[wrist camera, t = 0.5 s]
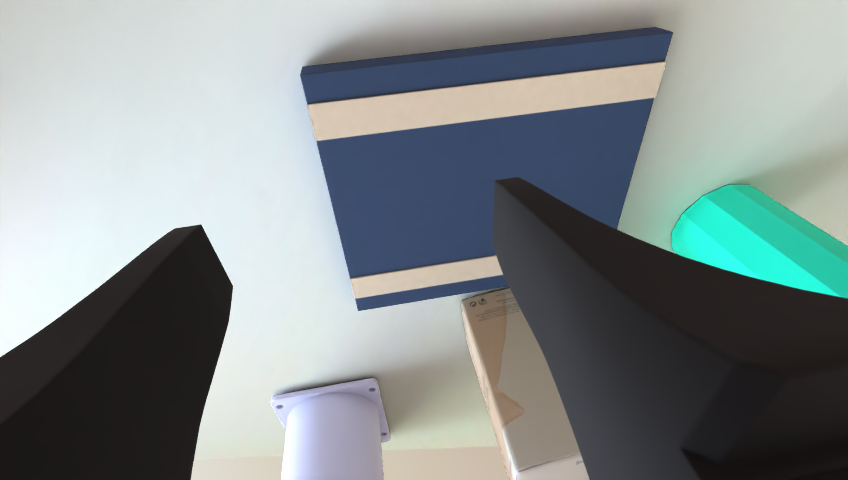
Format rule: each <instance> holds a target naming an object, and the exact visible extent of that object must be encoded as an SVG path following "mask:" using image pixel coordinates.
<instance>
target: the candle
mask: <svg viewBox="0 0 848 480" xmlns="http://www.w3.org/2000/svg"><path fill="white" fill-rule="evenodd" d="M671 237H672V249H673V250H674V251H675V252H676V253H677V254H678V255H681V256H683V257H686V258H689V259H693V260H696V261H699V262H702V263H705V264H708V265H711V266H715V267H718V268H721V269H724V270H728V271H731V272H735V273H739V274H742V275H746V276H749V277H753V278H757V279H761V280H765V281H769V282H773V283H778V284H782V285H786V286H790V287H794V288H798V289H803V290H808V291H813V292H818V293H823V294H828V295H833V296H838V297H843V298H848V246H847V245H845V244H843V243H842V242H840V241H839V240H837V239H835V238H834V237H832V236H831V235H829V234H827V233H826V232H824V231H823V230H821V229H819V228H818V227H816V226H815V225H813V224H811V223H810V222H808V221H807V220H805V219H803V218H802V217H800V216H799V215H797V214H795V213H794V212H792V211H791V210H789V209H787V208H786V207H784V206H783V205H781V204H780V203H778V202H776V201H775V200H773V199H772V198H770V197H768V196H767V195H765V194H764V193H762V192H760V191H759V190H757V189H756V188H754V187H752V186H751V185H726V186H724V187H722V188H719V189H717V190H715V191H712V192H710V193H708V194H706V195H703V196H702V197H701V198H700V199H699V200H698V201H696V202H695V203H694V204H693V205H692V206H691V207H689V208H688V209H687V210H686V211H685V212H684V213H683V214H682V215H681V217H680V219H679V221H678V222H677V224H676V226H675V228H674V229H673V231H672V233H671Z"/></svg>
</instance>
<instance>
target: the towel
mask: <svg viewBox="0 0 848 480" xmlns="http://www.w3.org/2000/svg"><path fill="white" fill-rule="evenodd" d="M672 34H673V32H670V31H667V30H664V29H661V28H658V27H653V28H644V29H635V30H626V31H617V32H608V33H599V34H590V35H581V36H572V37H563V38H555V39H546V40H537V41H528V42H519V43H510V44H501V45H492V46H483V47H474V48H465V49H456V50H448V51H439V52H430V53H421V54H412V55H403V56H394V57H385V58H376V59H367V60H358V61H349V62H341V63H332V64H323V65H314V66H305V67H302V71H301V74H300V76H301V80H302V84H303V89H304V93H305V97H306V101H307V107H308V111H309V115H310V119H311V123H312V127H313V131H314V135H315V139H316V141H317V145H318V150H319V154H320V158H321V162H322V166H323V170H324V174H325V178H326V182H327V186H328V190H329V194H330V198H331V202H332V206H333V210H334V215H335V219H336V223H337V227H338V231H339V235H340V239H341V243H342V247H343V251H344V255H345V259H346V263H347V267H348V271H349V275H350V281H351V285H352V289H353V293H354V297H355V300H356V304H357V308H358V311H361V310H367V309H373V308H379V307H385V306H391V305H397V304H403V303H409V302H415V301H421V300H427V299H433V298H439V297H445V296H451V295H457V294H463V293H470V292H476V291H482V290H488V289H494V288H500V287H506V286H508V284H507V282H506V280H505V278H504V276H503V273H502V270H501V268H500V265H499V262H498V259H497V256H496V253H495V250H494V247H493V244H492V239H493V212H494V186H495V180H500V179H507V178H514V177H520V178H522V179H524V180H526V181H528V182H529V183H531V184H533V185H535V186H536V187H538V188H540V189H542V190H543V191H545V192H547V193H549V194H550V195H552V196H554V197H555V198H557V199H559V200H561V201H562V202H564V203H566V204H568V205H570V206H571V207H573V208H575V209H577V210H579V211H580V212H582V213H584V214H586V215H588V216H590V217H592V218H594V219H596V220H598V221H600V222H602V223H604V224H606V225H608V226H610V227H612V228H614V229H617V226H618V222H619V219H620V215H621V212H622V208H623V205H624V202H625V198H626V195H627V191H628V188H629V184H630V181H631V177H632V174H633V170H634V167H635V163H636V160H637V156H638V153H639V149H640V146H641V142H642V139H643V135H644V132H645V128H646V125H647V121H648V118H649V114H650V111H651V107H652V104H653V100H654V98H656V97H657V93H658V90H659V86H660V83H661V79H662V76H663V72H664V69H665V65H666V62H665V59H666V55H667V52H668V48H669V45H670V41H671V38H672Z"/></svg>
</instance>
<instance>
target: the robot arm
mask: <svg viewBox="0 0 848 480" xmlns="http://www.w3.org/2000/svg"><path fill="white" fill-rule="evenodd" d="M492 244H493V247H494V250H495V253H496V256H497V259H498V262H499V265H500V268H501V270H502V273H503V276H504V278H505V280H506V282H507V284H508V286H509V288H510V290H511V292H512V294H513V296H514V298H515V299H516V301H517V303H518V305H519V307H520V309H521V311H522V313H523V315H524V317H525V319H526V321H527V323H528V325H529V326H530V328H531V330H532V332H533V334H534V336H535V338H536V340H537V342H538V344H539V346H540V348H541V350H542V352H543V355H544V357H545V359H546V361H547V364H548V366H549V369H550V372H551V374H552V377H553V379H554V382H555V384H556V387H557V390H558V392H559V395H560V397H561V400H562V403H563V406H564V408H565V411H566V414H567V416H568V419H569V422H570V425H571V427H572V430H573V433H574V436H575V439H576V442H577V444H578V447H579V450H580V453H581V456H582V459H583V462H584V465H585V468H586V471H587V474H588V477H589V480H848V298H843V297H838V296H833V295H828V294H823V293H818V292H813V291H808V290H803V289H798V288H794V287H790V286H786V285H782V284H778V283H773V282H769V281H765V280H761V279H757V278H753V277H749V276H746V275H742V274H739V273H735V272H731V271H728V270H724V269H721V268H718V267H715V266H711V265H708V264H705V263H702V262H699V261H696V260H693V259H689V258H686V257H683V256H681V255H678V254H675V253H672V252H669V251H667V250H664V249H661V248H659V247H656V246H654V245H651V244H649V243H646V242H644V241H641V240H639V239H636V238H634V237H632V236H629V235H627V234H625V233H623V232H620V231H618V230H616V229H614V228H612V227H610V226H608V225H606V224H604V223H602V222H600V221H598V220H596V219H594V218H592V217H590V216H588V215H586V214H584V213H582V212H580V211H579V210H577V209H575V208H573V207H571V206H570V205H568V204H566V203H564V202H562V201H561V200H559V199H557V198H555V197H554V196H552V195H550V194H549V193H547V192H545V191H543V190H542V189H540V188H538V187H536V186H535V185H533V184H531V183H529V182H528V181H526V180H524V179H522V178H520V177H514V178H507V179H500V180H495V186H494V212H493V239H492ZM232 290H233V285H232V283H231V282H230V280H229V278H228V276H227V274H226V272H225V270H224V268H223V266H222V264H221V262H220V260H219V258H218V256H217V254H216V252H215V251H214V249H213V247H212V245H211V243H210V241H209V239H208V237H207V235H206V233H205V231H204V229H203V227H202V225H195V226H189V227H182V228H176V229H173V230H172V231H170V232H169V233H167V234H166V235H164V236H163V237H162V238H160V239H159V240H158V241H156V242H155V243H154V244H152V245H151V246H150V247H149V248H147V249H146V250H145V251H144V252H142V253H141V254H140V255H139V256H137V257H136V258H135V259H134V260H132V261H131V262H130V263H129V264H127V265H126V266H125V267H124V268H122V269H121V270H120V271H119V272H117V273H116V274H115V275H114V276H112V277H111V278H110V279H109V280H107V281H106V282H105V283H104V284H102V285H101V286H100V287H99V288H97V289H96V290H95V291H93V292H92V293H91V294H89V295H88V296H87V297H85V298H84V299H83V300H81V301H80V302H79V303H77V304H76V305H75V306H73V307H72V308H71V309H69V310H68V311H67V312H65V313H64V314H63V315H61V316H60V317H59V318H57V319H56V320H55V321H53V322H52V323H51V324H49V325H48V326H46V327H45V328H44V329H42V330H41V331H39V332H38V333H36V334H35V335H33V336H32V337H31V338H29V339H28V340H26V341H25V342H23V343H22V344H20V345H18V346H17V347H15V348H14V349H12V350H11V351H9V352H8V353H6V354H5V355H3V356H2V357H0V480H190V479H191V473H192V466H193V461H194V455H195V449H196V444H197V438H198V432H199V426H200V422H201V418H202V414H203V410H204V406H205V402H206V399H207V396H208V392H209V389H210V385H211V382H212V378H213V375H214V372H215V368H216V365H217V361H218V358H219V355H220V351H221V348H222V344H223V340H224V337H225V333H226V330H227V326H228V322H229V315H230V308H231V300H232ZM271 405H272V407H273V409H274V411H275V412H276V414H277V416H278V418H279V419H280V421H281V423H282V425H283V426H284V428H285V430H286V439H285V448H284V457H283V466H282V475H281V480H384V473H383V460H382V447H381V443H383V442H387V441H389V440H390V432H389V428H388V424H387V420H386V415H385V411H384V407H383V403H382V399H381V395H380V391H379V386H378V382H377V380H376V379H374V378H369V379H363V380H358V381H352V382H347V383H341V384H336V385H330V386H325V387H319V388H314V389H308V390H303V391H297V392H292V393H286V394H280V395H276V396H273V397H272V398H271Z"/></svg>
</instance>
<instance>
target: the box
mask: <svg viewBox="0 0 848 480" xmlns="http://www.w3.org/2000/svg"><path fill="white" fill-rule="evenodd" d="M461 308H462V315H463V322H464V328H465V334H466V340H467V344H468V348H469V351H470V354H471V358H472V361H473V364H474V367H475V370H476V374H477V377H478V380H479V384H480V387H481V390H482V394H483V397H484V400H485V403H486V406H487V409H488V412H489V416H490V419H491V422H492V426H493V429H494V432H495V436H496V439H497V442H498V445H499V448H500V452H501V455H502V458H503V461H504V465H505V468H506V471H507V474H508V478H509V480H589V477H588V474H587V471H586V468H585V465H584V462H583V459H582V456H581V453H580V450H579V447H578V444H577V442H576V439H575V436H574V433H573V430H572V427H571V425H570V422H569V419H568V416H567V414H566V411H565V408H564V406H563V403H562V400H561V397H560V395H559V392H558V390H557V387H556V384H555V382H554V379H553V377H552V374H551V372H550V369H549V366H548V364H547V361H546V359H545V357H544V355H543V352H542V350H541V348H540V346H539V344H538V342H537V340H536V338H535V336H534V334H533V332H532V330H531V328H530V326H529V325H528V323H527V321H526V319H525V317H524V315H523V313H522V311H521V309H520V307H519V305H518V303H517V301H516V299H515V298H514V296H513V294H512V292H511V290H510V288H508V289H504V290H499V291H495V292H491V293H487V294H483V295H479V296H475V297H472V298H468V299H464V300H462V301H461Z"/></svg>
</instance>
